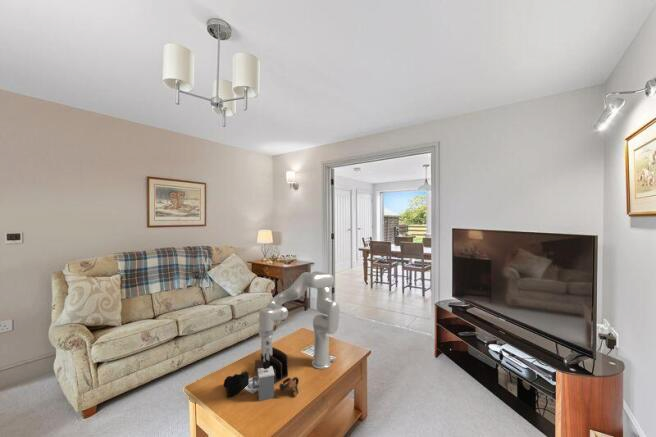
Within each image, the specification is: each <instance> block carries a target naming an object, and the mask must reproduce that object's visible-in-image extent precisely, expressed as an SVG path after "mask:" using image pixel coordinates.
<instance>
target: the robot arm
mask: <svg viewBox="0 0 656 437" xmlns="http://www.w3.org/2000/svg"><path fill="white" fill-rule="evenodd" d="M334 282H335V277H334V276H333V274H331V273H328V272H322V271H316V270H315V271H313V272H309V271H308V272H307V271H305V272H302V273H301V274H300V275H299V276H298V278H296V280H295V281H294V282H292V284H291V285H290V287H289V288H287V289H285V290H283V291H281V292H279V293H277V295H274V297H273V298H272V299H270V301H269V302H268V303H267V305H266V307H263V308H261V309H259V312H258V313H259V314H258V337H260V348H261V349H260V350H261V353H262V354H263V358H264V361H263V358H262V365H263V369H268V368H270V360H269V354H270V356H272V347H273V339H272V338H273V337H272V336H274V322H280V321H284V320H286V319H287V317H288V316H289V310H288V309H287V307H285V306H283V304H285V303H288V302H290V301H296V300H298V299H300V298H301V297H302V296H303V294H304V293H305V292H307V290H308V288H310V289H311V288H312V289H316V292H317V294H316V311H318V312H319V314H316V315H315V316H314V318H313V319H312V328H313V333H314V334H313V335H314V336H313V338H314V340H313V342H314V343H313V344H314V345H313V346H314V347H313V348H314V350H313V351H314V352H313V353H314V354H313V359H312V361H311V366H312V367H313V368H315V369H318V370H324V369H328V368H330V367H331V365H332V361H334V360H337V357H336V356H333V355H329V354H330V335H334V334H336V332H338V328H339V319H340V304H339V302H337V301H336V300H333V299H331V289H330V288H331V287H332V286H333V284H334ZM320 313H322V314H320Z"/></svg>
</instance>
